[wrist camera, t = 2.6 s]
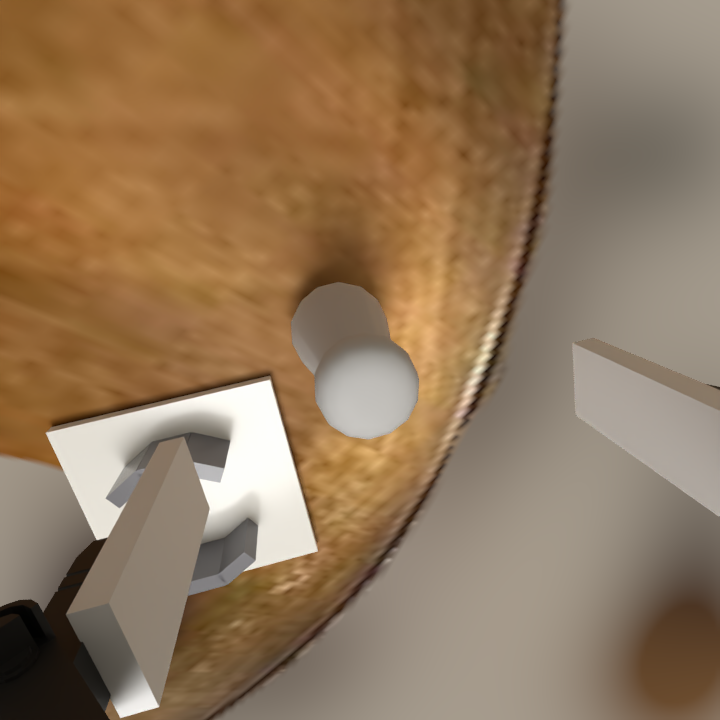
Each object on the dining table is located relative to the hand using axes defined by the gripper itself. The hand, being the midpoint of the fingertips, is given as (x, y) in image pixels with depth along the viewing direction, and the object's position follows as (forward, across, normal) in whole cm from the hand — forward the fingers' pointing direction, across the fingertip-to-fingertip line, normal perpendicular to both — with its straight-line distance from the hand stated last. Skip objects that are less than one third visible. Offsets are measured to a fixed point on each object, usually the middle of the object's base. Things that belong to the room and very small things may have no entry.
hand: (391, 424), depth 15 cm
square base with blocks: (+16, -12, -10) cm, 22 cm away
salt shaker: (+16, 0, 0) cm, 16 cm away
